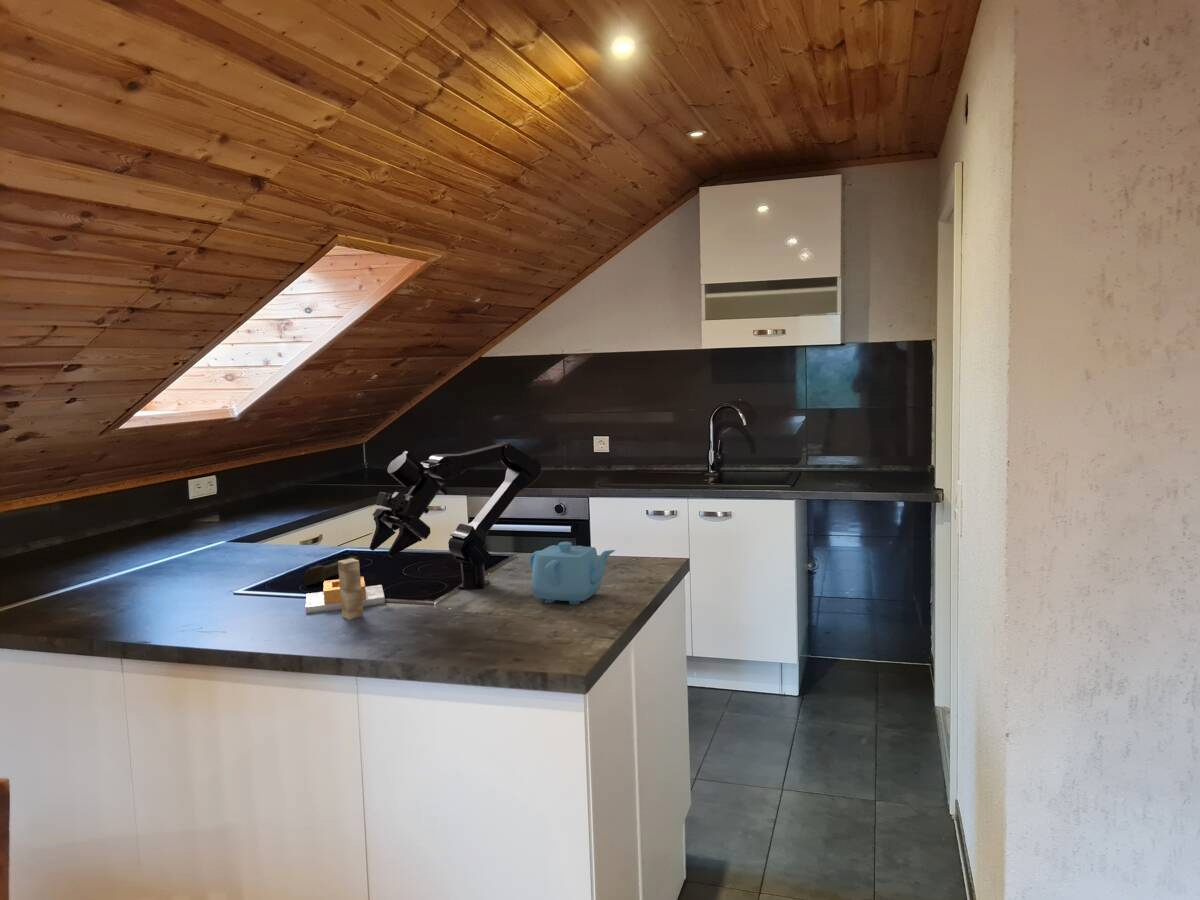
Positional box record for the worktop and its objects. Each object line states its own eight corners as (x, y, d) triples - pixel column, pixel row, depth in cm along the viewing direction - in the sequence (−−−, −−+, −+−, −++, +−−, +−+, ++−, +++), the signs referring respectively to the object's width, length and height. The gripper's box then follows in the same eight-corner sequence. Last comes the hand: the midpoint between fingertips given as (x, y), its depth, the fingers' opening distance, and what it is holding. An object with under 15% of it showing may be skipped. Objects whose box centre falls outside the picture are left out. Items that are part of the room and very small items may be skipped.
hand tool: (350, 568, 245) (349, 552, 245) (361, 569, 243) (359, 553, 243) (298, 586, 229) (296, 569, 228) (309, 587, 227) (307, 570, 226)
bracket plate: (382, 590, 220) (380, 573, 219) (385, 603, 209) (383, 585, 208) (307, 599, 215) (305, 581, 214) (306, 613, 203) (304, 594, 203)
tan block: (356, 612, 202) (352, 558, 201) (363, 616, 200) (358, 560, 198) (342, 616, 200) (337, 561, 198) (348, 619, 197) (344, 563, 196)
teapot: (541, 612, 196) (538, 554, 195) (525, 593, 212) (522, 539, 210) (618, 602, 202) (615, 545, 200) (596, 584, 217) (594, 531, 216)
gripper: (377, 475, 212) (337, 527, 206) (415, 482, 197) (373, 538, 192) (408, 502, 218) (371, 553, 212) (447, 510, 204) (408, 566, 198)
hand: (379, 552), depth 203 cm, fingers open, 9 cm apart
